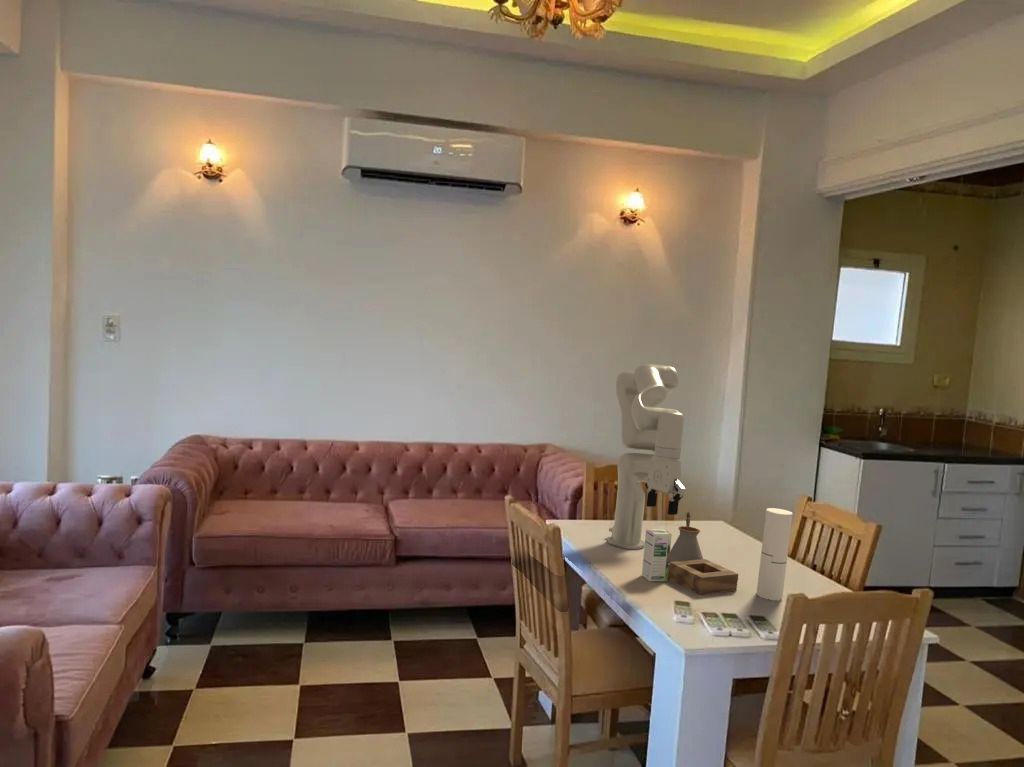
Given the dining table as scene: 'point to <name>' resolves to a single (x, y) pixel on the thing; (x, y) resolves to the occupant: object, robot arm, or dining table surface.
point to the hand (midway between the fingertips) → (661, 510)
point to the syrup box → (656, 554)
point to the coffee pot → (686, 544)
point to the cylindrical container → (774, 553)
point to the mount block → (703, 576)
